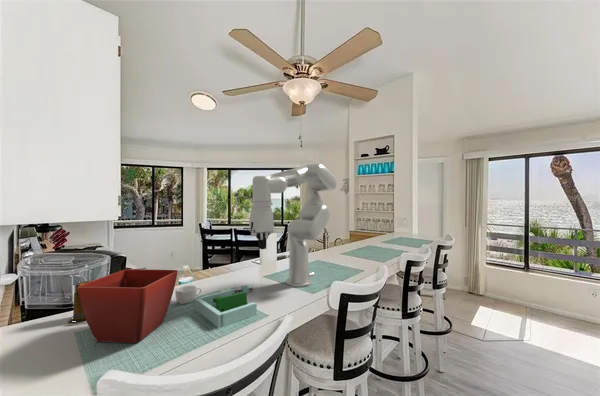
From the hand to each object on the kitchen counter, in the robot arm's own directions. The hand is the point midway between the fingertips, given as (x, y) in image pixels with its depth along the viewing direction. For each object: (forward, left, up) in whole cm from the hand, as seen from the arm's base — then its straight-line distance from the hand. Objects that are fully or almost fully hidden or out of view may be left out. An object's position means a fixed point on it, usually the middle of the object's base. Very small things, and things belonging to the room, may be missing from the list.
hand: (262, 248), depth 109 cm
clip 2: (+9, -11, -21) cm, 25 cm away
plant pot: (+46, -4, -21) cm, 51 cm away
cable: (+10, -10, -20) cm, 25 cm away
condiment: (+56, -25, -21) cm, 65 cm away
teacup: (+24, -17, -21) cm, 36 cm away
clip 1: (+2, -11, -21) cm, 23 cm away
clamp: (+16, +2, -21) cm, 26 cm away
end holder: (+18, +2, -21) cm, 28 cm away
